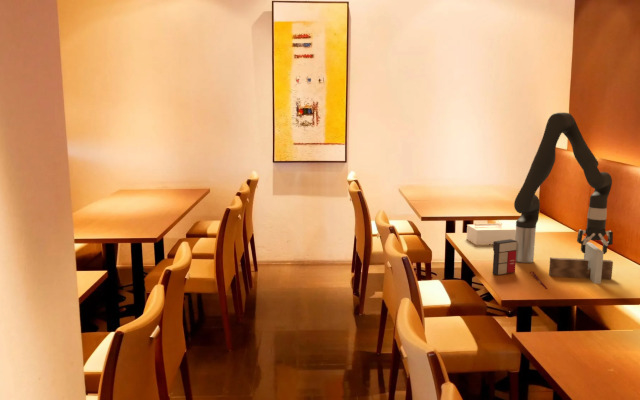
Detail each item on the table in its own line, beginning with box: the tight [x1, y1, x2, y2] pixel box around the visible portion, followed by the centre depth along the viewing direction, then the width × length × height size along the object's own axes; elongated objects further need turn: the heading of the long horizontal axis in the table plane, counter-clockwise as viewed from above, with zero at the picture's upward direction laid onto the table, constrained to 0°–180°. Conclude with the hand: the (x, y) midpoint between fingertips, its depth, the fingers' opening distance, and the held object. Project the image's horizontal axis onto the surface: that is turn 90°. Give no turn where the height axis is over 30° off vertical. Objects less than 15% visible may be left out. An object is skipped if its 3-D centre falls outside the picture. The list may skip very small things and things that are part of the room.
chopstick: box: [529, 271, 548, 290], centre depth 259 cm, size 2×24×1 cm, turn 175°
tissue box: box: [466, 220, 516, 246], centre depth 330 cm, size 14×25×11 cm, turn 96°
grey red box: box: [492, 239, 517, 276], centre depth 268 cm, size 11×4×15 cm, turn 118°
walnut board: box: [548, 257, 614, 280], centre depth 264 cm, size 26×2×8 cm, turn 81°
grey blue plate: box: [583, 241, 604, 285], centre depth 263 cm, size 18×2×14 cm, turn 172°
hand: (593, 253), depth 262 cm, fingers open, 8 cm apart
